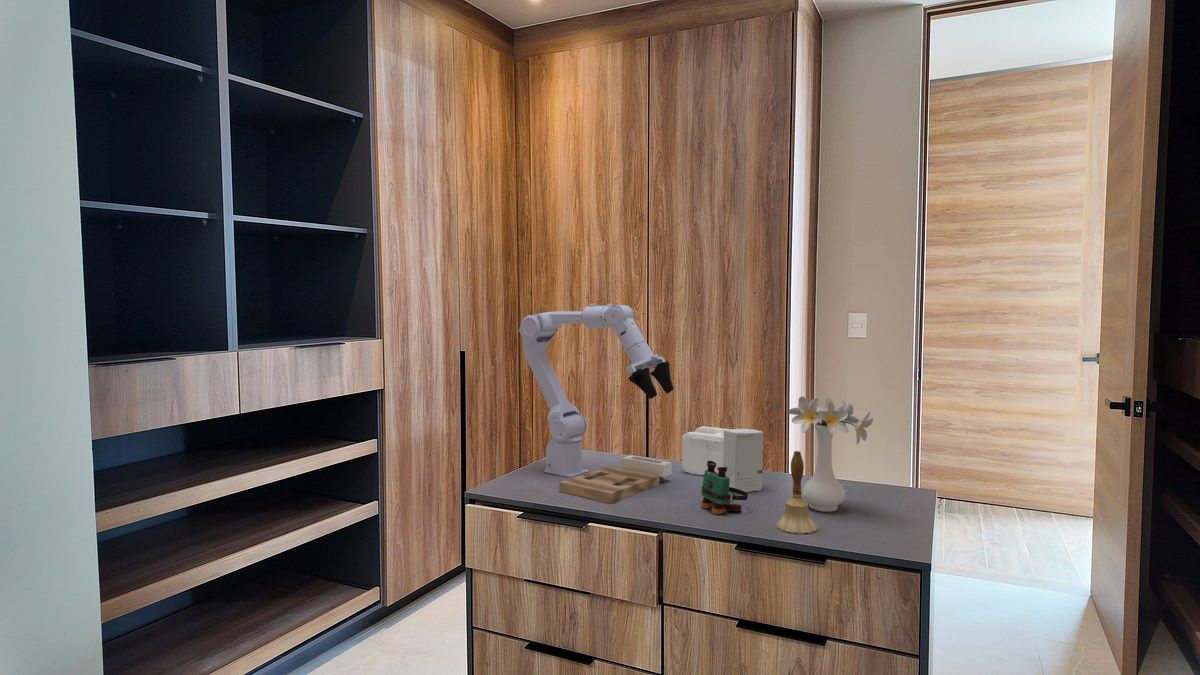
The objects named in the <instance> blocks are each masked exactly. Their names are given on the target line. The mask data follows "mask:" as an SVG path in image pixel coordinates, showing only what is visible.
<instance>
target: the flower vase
mask: <svg viewBox="0 0 1200 675" xmlns="http://www.w3.org/2000/svg"><path fill="white" fill-rule="evenodd" d="M818 401H819V398H818V397H815V398H813V399H811V400H810V402H808V400H807V398H806V397H805V396H800V397H799V398H798V407H792V408H790V409H789V410H788V412H787V413H788V414H790V415H793V417H792V418H791V423H793V424H795V425H796V424H802V425H801V427H800V428H801V432H802V433H806V432H808V430H809V428H810V426H811V425H812V424H814V428H815V430H816V436H817V454H816V455H817V456H816V466H815V470H814V473H813V474H812V476H811V478H810V479H809V480H807V482H806V483H805V484H804V486H803V488H802V489H801V495H802V496H803V498H804V501H806V502H807V503H808V508H810V509H812V510H813V509H814V511H819V512H823V513H825V512H826V513H827V512H829V513H831V512H832V513H833V512H836V511H837V510H838V506H839V505H841V504H842V503H843V502H844V501H845V498H846V491H845V489H844V488H843V486H842V485H841V483H840V482H839V480H837V478H836V476H835V474H834V470H833V465H832V464H833V462H832V461H833V458H832V456H833V455H832V444H833V443H832V442H833V437H834V433H835V432H836V429H838V430H839V431H841V432H843V433H845V434H846V433H849V432H850V431H849V428H848V426H847V425H851V426H853V427H854V429H855V435H856V436H855V437H856V446H858V445H859V443H860V440H861V439H862V440H863V441H864V442H865V441H867V439H868V438H867V437H868V434H867V433H868V432H867V431H866V429H865V428H869V427H870V426H871V425H872V424H873V422H874V418H869V417H870V414H871V412H870V411H869V412H868V413H866V414H865V416H863V417H862V418H861V419H859V418H858V417H857V416H855V415H854V407H853V404H852V403H850V402H849V403H848V405H847V404H846V402H845V400H844V399H842V405H839V406H836V407H835V405H834V402H833V400H832V398H831V397H826V398H825V401H824V406H825V407H824V408H823V407H819V402H818Z"/></svg>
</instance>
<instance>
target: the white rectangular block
mask: <svg viewBox="0 0 1200 675" xmlns="http://www.w3.org/2000/svg"><path fill="white" fill-rule="evenodd" d="M621 469H626V470H631V471H636V472H641V473H647V474H652V475H657V476H659V483H663V482H664V479H665V477H669V476H670V475H672V474H673V462H672V461H665V460H659V459H655V458H654V459H653V458H649V457H648V458H647V457H643V456H639V455H633V454H631V455H627V456H624V457H621Z"/></svg>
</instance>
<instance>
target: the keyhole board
mask: <svg viewBox="0 0 1200 675" xmlns="http://www.w3.org/2000/svg"><path fill="white" fill-rule="evenodd" d="M657 486H660V482H659V476H657V475H652V474H647V473H641V472H636V471H631V470H626V469H622V467H621V468H620V467H615V466H606V467H602V468H599V469H596V470H593V471H590V472H586V473H583V474H580V475H576V476H573V477H569V478H568V479H564V480H561V481H559V492H560V491H561V493H564V492H565V494H568V493H569V495H572V494H573V495H574V496H576V497H577V496H578V497H581V496H582V497H581V498H585V499H589V498H590V500H595V501H597V502H602V501H603V502H604V503H607V504H614V503H617V502H620V501H621V500H623V499H625V498H629V497H631V496H634V495H636V494H639V493H641V492H645V491H647V490H650V489H651V488H655V487H657ZM573 495H572V496H573Z"/></svg>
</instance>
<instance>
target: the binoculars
mask: <svg viewBox="0 0 1200 675" xmlns="http://www.w3.org/2000/svg"><path fill="white" fill-rule="evenodd" d="M707 466H708V470H705V473H704V475H703V480H702V486H701V496H702V497H703V498H702V499H703V500H702V501H701V502H700V507H701V508H703V509H709V508H710V509H711V514H713V515H721V514H724V513H725V511H733V512H741V511H742V505H740V504H737V503H736V504H735V503H734V501H747V500H748V498H749V492H745V491H742V490H739V489H736V488H732V487H729V483H730V478H729V477H727V476H725V474H726V471H727V467H718V473H717V472H715V467H716V463H715V462H713V461H707ZM733 492H734V493H733ZM737 494H738V495H737ZM731 495H732V496H731Z"/></svg>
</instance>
